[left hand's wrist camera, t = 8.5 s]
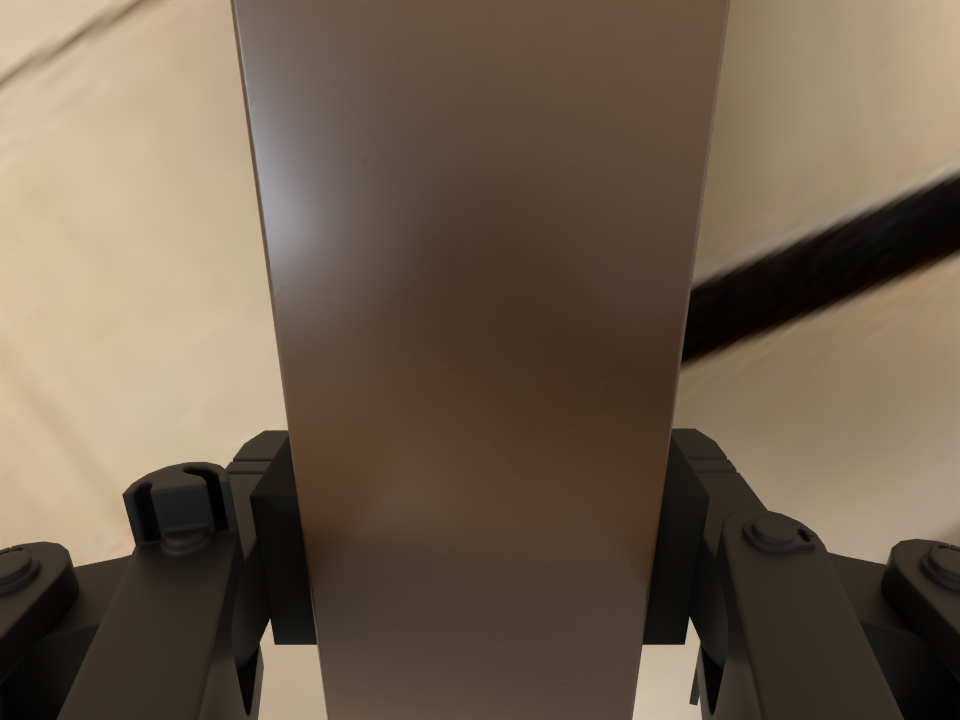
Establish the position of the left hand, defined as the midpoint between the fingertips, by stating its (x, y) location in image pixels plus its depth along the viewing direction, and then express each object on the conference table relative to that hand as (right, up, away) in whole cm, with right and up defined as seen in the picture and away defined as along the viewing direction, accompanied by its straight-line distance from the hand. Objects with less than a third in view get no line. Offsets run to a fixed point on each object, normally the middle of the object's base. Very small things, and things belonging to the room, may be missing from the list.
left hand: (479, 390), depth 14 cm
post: (0, +23, -8) cm, 25 cm away
